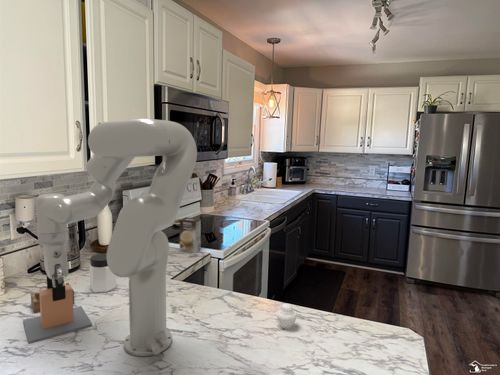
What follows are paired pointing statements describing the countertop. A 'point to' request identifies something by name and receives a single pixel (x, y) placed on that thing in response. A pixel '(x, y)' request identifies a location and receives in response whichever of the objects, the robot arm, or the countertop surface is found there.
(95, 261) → the jar
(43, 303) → the orange block
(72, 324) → the mat
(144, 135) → the robot arm
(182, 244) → the coffee box
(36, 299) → the dispenser
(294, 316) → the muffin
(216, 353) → the countertop surface
